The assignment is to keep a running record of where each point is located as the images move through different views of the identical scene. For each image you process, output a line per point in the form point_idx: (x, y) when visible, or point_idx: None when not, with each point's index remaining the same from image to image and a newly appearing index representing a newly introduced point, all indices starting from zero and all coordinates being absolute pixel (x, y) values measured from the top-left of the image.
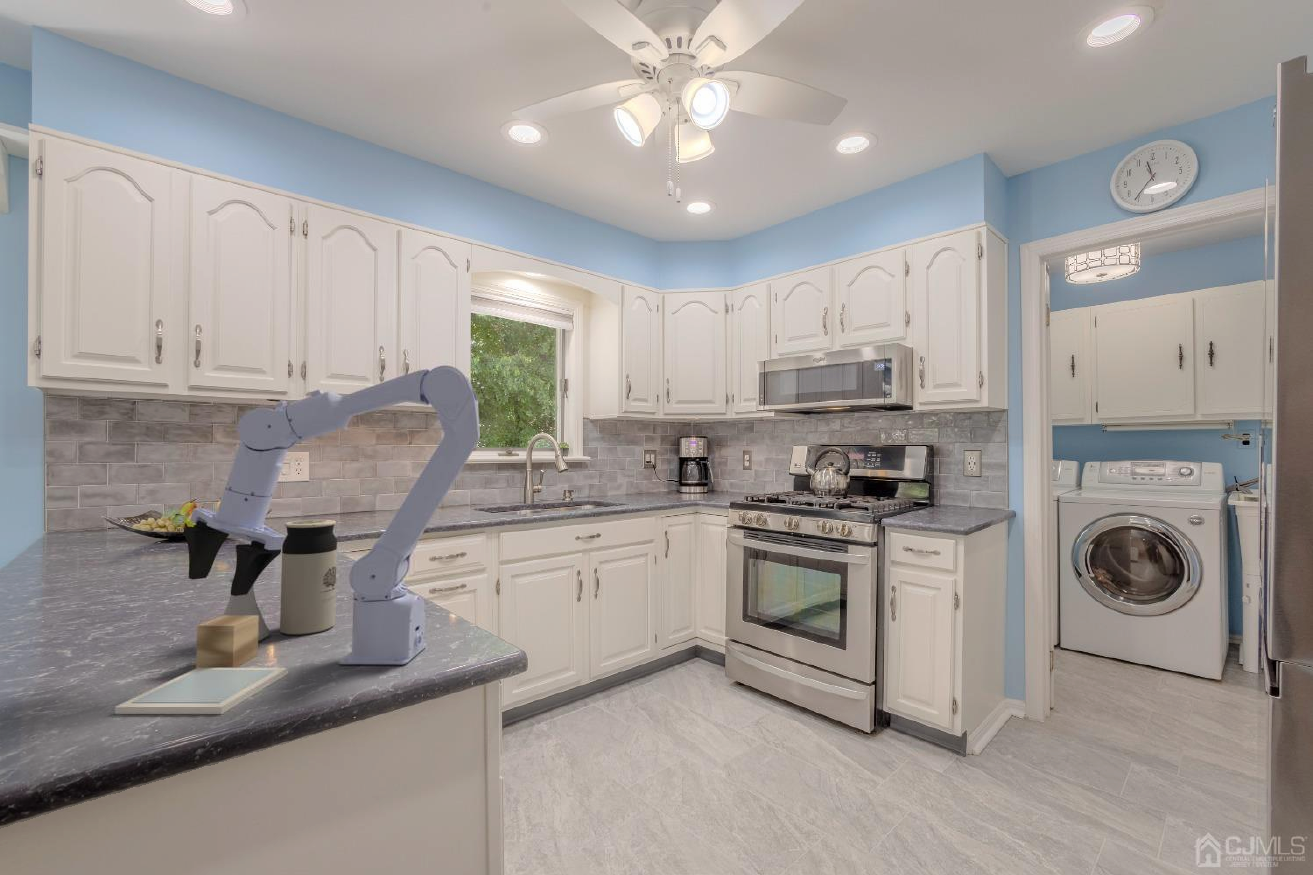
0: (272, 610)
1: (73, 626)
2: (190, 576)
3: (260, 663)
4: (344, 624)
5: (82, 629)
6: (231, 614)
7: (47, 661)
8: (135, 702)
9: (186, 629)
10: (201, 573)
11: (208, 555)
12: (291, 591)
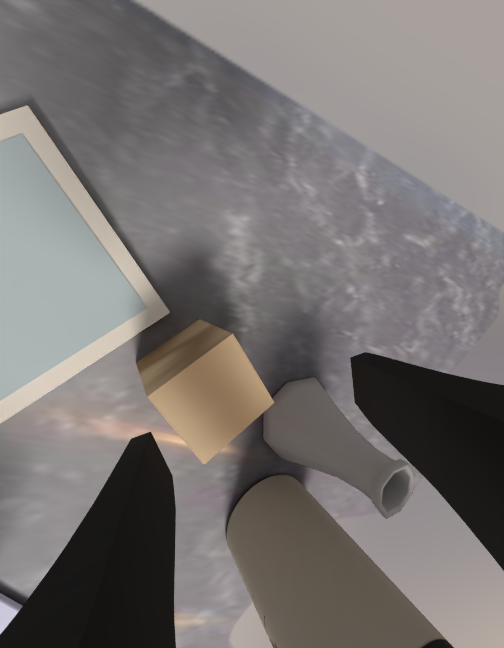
0: None
1: (493, 286)
2: (364, 357)
3: (126, 409)
4: (238, 572)
5: (479, 288)
6: (324, 422)
7: (405, 210)
8: (12, 137)
9: None
10: (366, 394)
11: (435, 455)
12: (303, 558)
